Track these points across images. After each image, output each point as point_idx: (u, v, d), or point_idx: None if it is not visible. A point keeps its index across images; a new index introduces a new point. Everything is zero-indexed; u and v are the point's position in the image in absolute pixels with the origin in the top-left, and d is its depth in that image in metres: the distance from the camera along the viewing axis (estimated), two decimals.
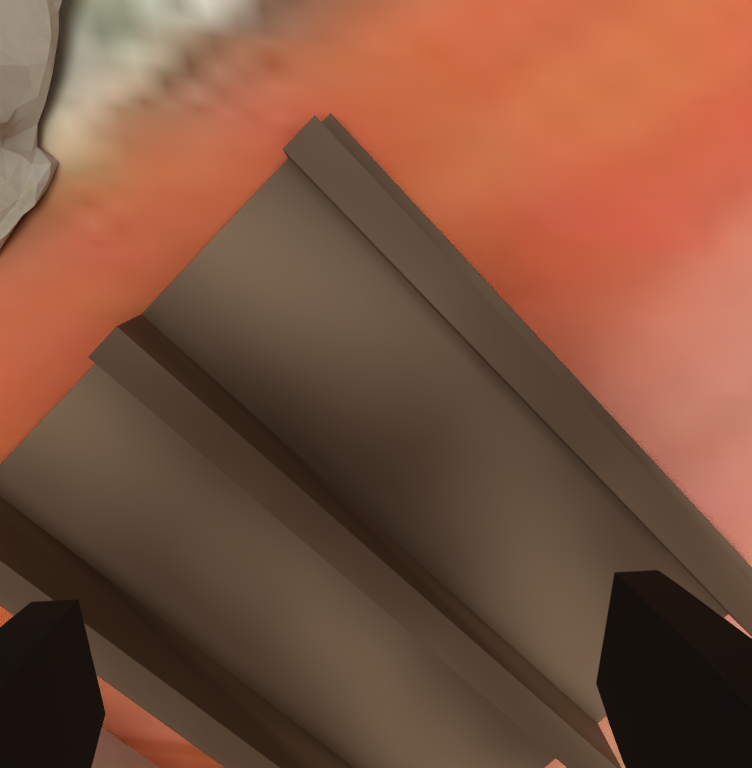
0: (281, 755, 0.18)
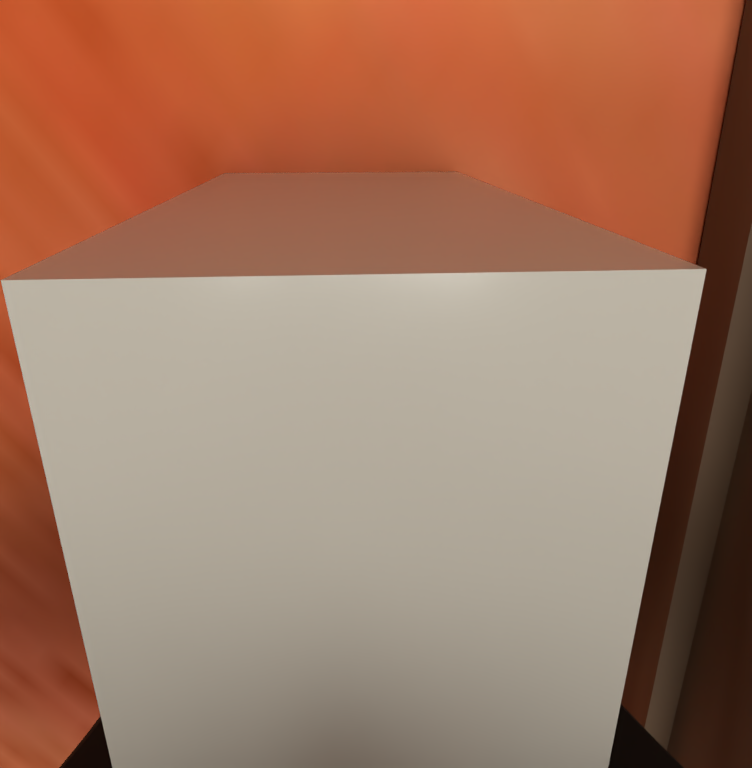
0: None
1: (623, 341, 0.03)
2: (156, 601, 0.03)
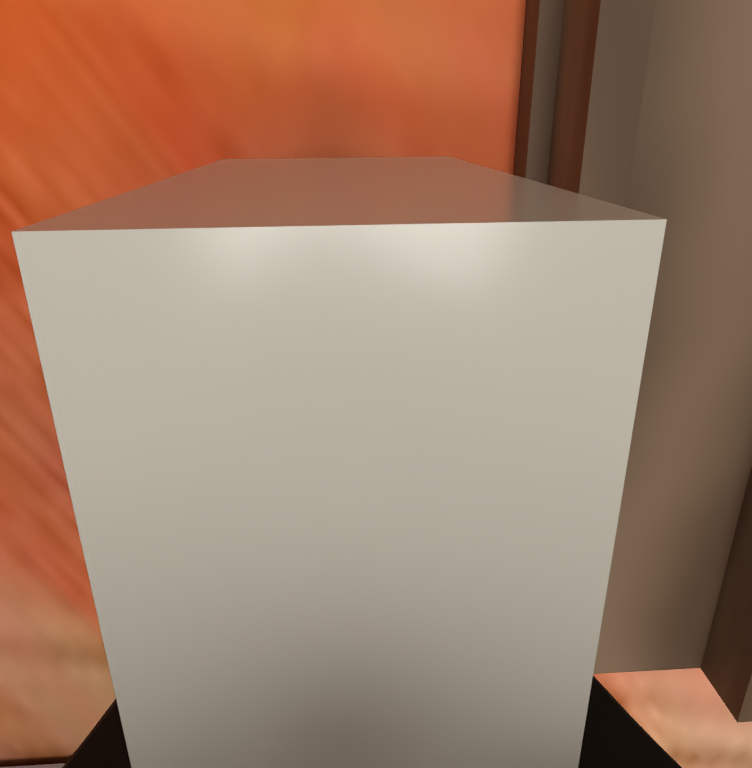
0: None
1: (591, 288, 0.03)
2: (158, 541, 0.04)
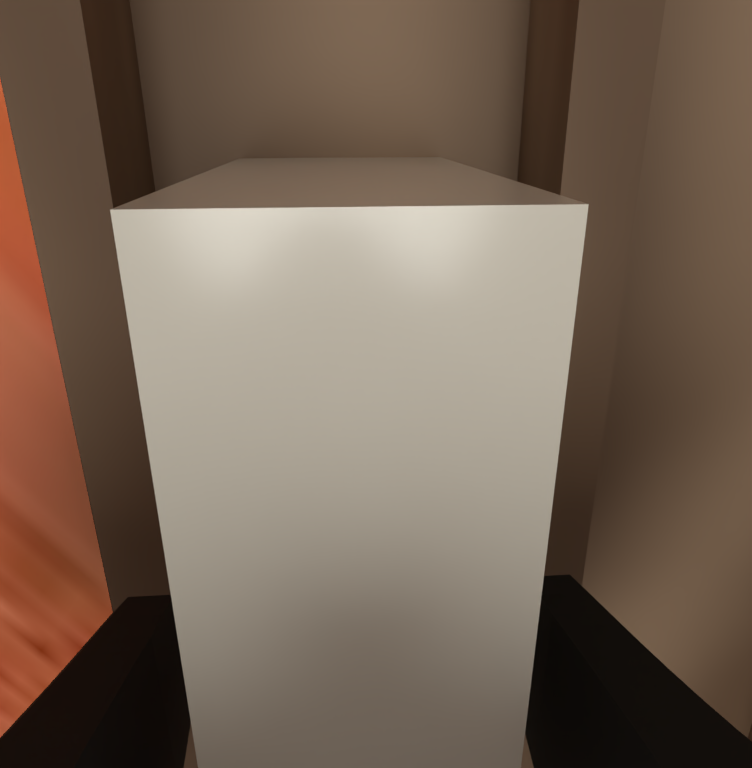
0: None
1: (534, 256, 0.04)
2: (206, 450, 0.05)
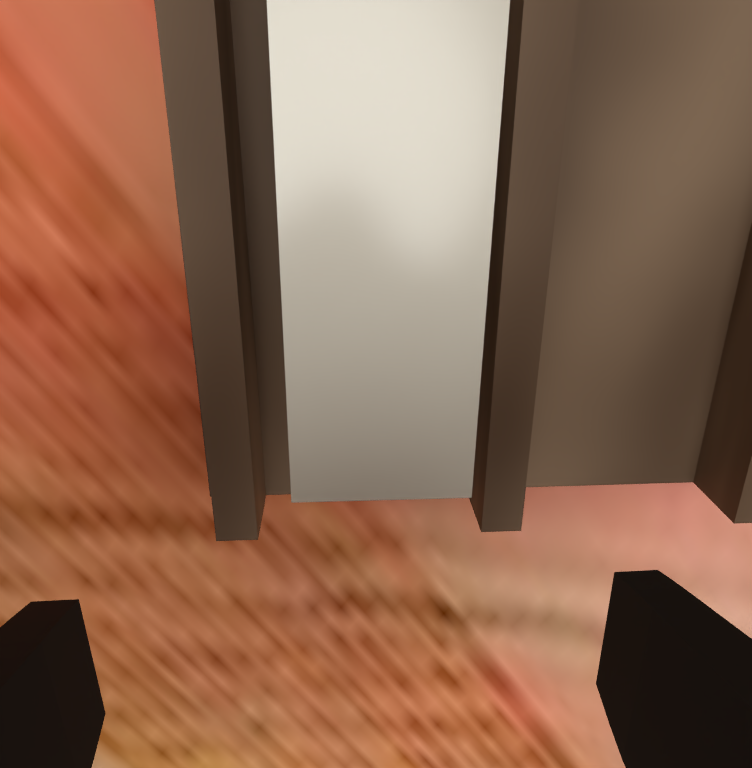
0: (234, 208, 0.13)
1: None
2: None
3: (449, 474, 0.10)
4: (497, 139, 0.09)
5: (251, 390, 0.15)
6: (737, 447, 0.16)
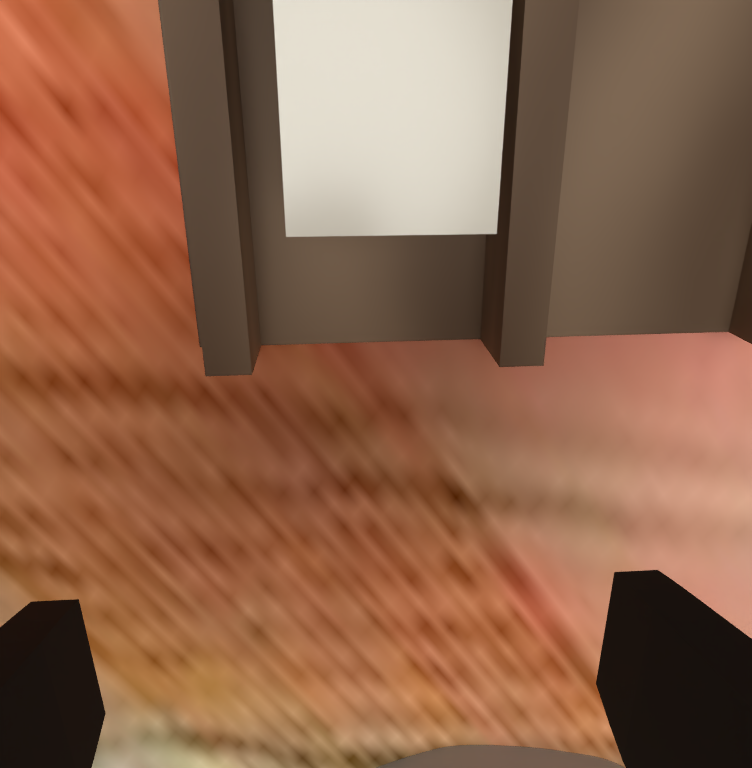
0: None
1: None
2: None
3: (470, 201, 0.09)
4: None
5: (242, 201, 0.13)
6: None
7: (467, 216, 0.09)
